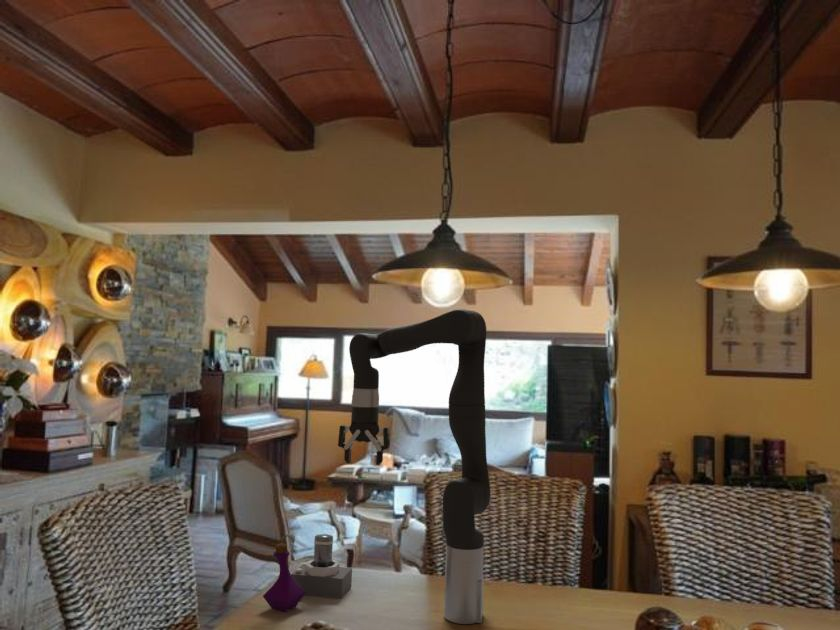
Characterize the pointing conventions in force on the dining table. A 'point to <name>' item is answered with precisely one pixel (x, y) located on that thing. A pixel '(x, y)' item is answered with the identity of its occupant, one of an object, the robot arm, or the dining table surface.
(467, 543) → the robot arm
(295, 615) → the dining table surface
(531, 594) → the dining table surface
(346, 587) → the camera body
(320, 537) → the lens
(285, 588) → the perfume bottle
